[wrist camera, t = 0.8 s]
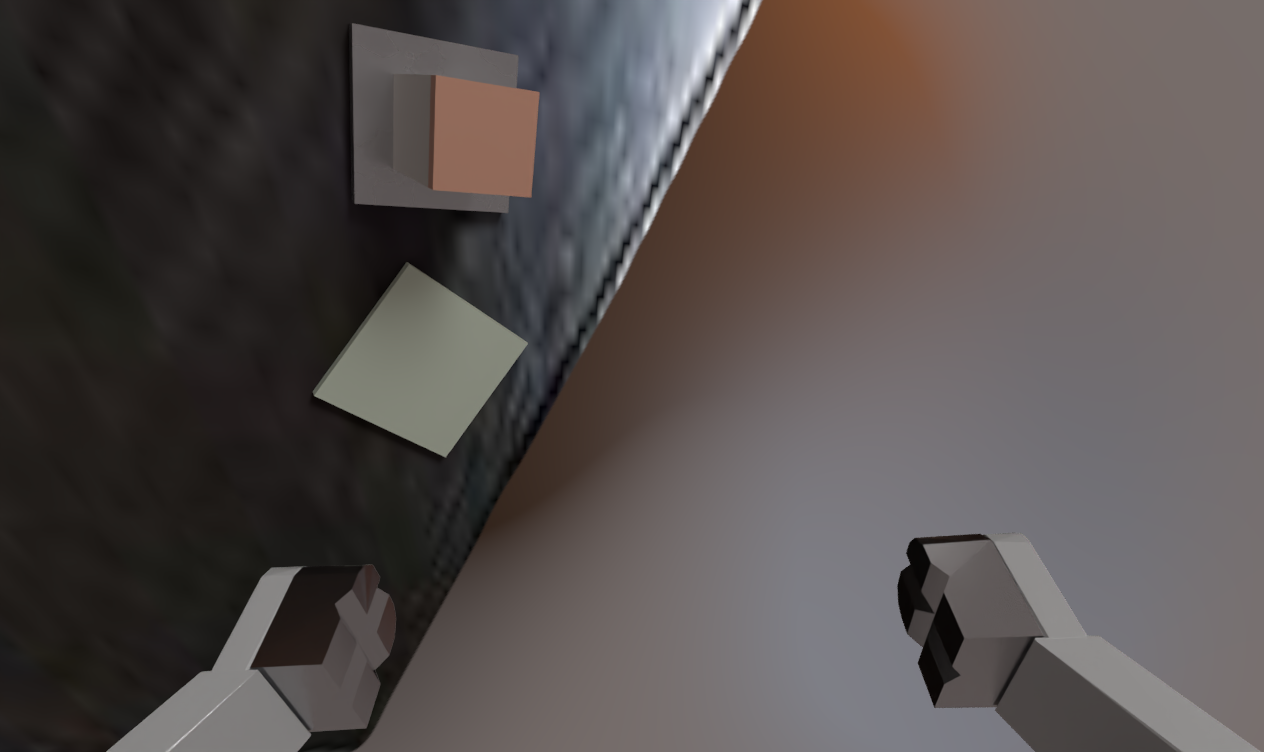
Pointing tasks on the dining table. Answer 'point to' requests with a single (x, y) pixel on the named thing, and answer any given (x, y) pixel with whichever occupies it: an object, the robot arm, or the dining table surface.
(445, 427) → the pad
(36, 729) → the dining table surface
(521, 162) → the pink tall block
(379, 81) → the square base plate
